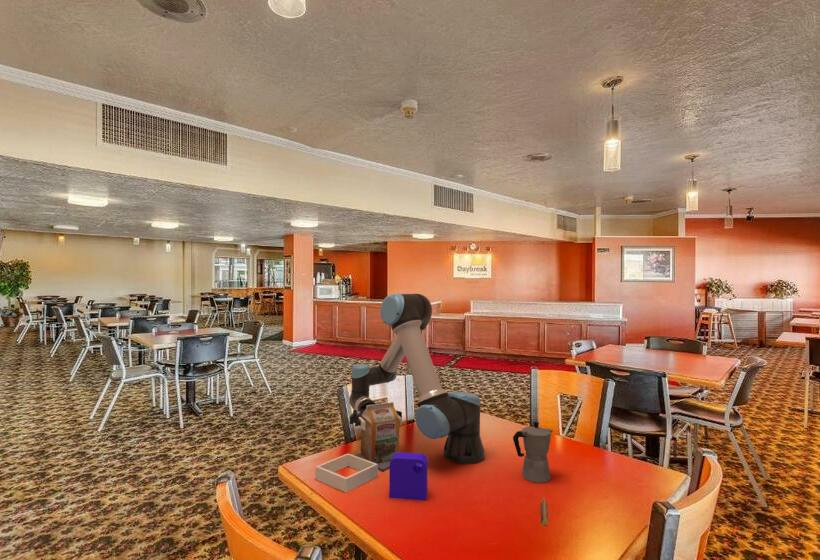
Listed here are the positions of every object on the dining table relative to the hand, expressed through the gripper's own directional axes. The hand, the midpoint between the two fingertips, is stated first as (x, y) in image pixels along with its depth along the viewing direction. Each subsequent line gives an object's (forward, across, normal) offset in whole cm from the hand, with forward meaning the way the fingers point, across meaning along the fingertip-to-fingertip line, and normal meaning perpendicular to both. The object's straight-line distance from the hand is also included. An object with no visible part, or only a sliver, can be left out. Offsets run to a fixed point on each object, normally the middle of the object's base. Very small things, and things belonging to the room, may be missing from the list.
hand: (382, 424), depth 149 cm
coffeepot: (+29, -43, -14) cm, 53 cm away
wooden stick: (+48, -31, -14) cm, 59 cm away
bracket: (+19, -3, -14) cm, 24 cm away
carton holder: (+7, +15, -14) cm, 21 cm away
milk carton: (-3, 0, -13) cm, 13 cm away
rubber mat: (-3, 0, -14) cm, 14 cm away
